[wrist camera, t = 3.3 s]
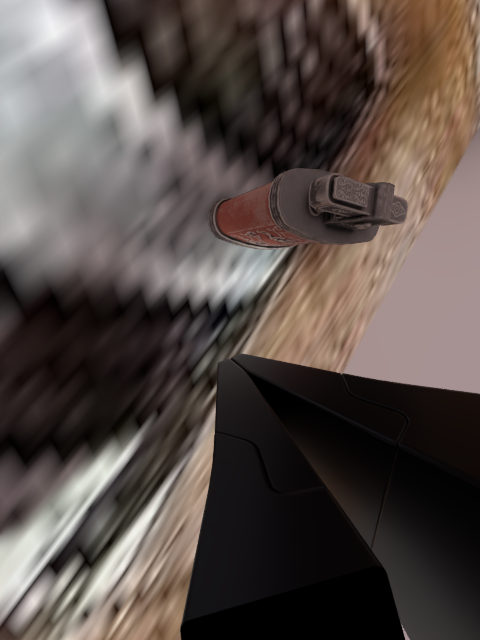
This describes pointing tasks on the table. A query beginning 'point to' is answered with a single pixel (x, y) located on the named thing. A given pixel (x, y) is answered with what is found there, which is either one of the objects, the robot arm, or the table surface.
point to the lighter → (307, 211)
